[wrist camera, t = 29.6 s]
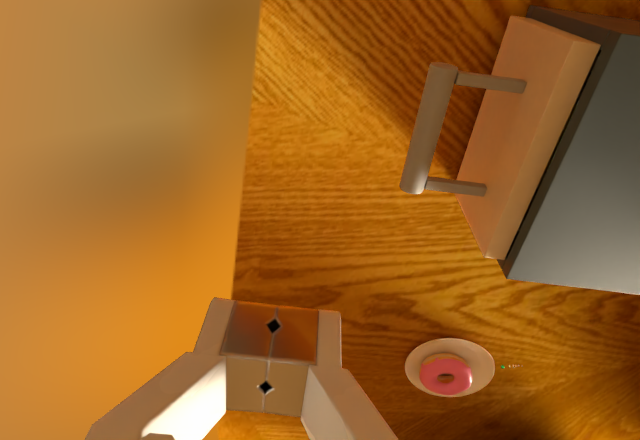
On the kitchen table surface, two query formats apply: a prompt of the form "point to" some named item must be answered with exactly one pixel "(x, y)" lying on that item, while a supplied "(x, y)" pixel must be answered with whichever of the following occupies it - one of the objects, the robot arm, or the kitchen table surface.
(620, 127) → the drawer cabinet
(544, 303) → the kitchen table surface
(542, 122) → the wooden pull-out drawer
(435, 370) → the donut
